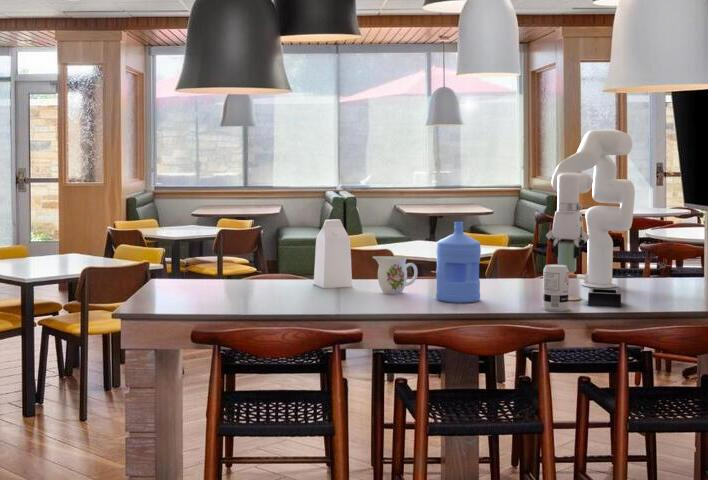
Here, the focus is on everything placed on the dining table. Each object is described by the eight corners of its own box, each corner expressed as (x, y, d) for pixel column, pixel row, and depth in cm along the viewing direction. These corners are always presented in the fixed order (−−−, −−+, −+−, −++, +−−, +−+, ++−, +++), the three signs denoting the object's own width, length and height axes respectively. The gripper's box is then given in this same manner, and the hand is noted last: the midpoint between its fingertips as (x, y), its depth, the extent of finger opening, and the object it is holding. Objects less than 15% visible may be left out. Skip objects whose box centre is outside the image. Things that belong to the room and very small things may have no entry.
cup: (555, 271, 350) (555, 243, 350) (561, 269, 355) (561, 242, 355) (572, 272, 346) (573, 244, 346) (578, 270, 352) (579, 243, 351)
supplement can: (539, 307, 332) (540, 264, 331) (563, 307, 333) (563, 263, 332) (547, 311, 324) (548, 267, 323) (571, 311, 325) (572, 267, 324)
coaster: (548, 299, 350) (548, 298, 350) (557, 295, 359) (557, 294, 359) (575, 301, 345) (575, 300, 345) (584, 298, 353) (584, 297, 353)
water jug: (427, 298, 353) (428, 221, 351) (464, 295, 359) (465, 219, 357) (451, 304, 339) (451, 224, 337) (488, 301, 345) (489, 223, 343)
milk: (341, 282, 391) (341, 218, 390) (352, 286, 380) (352, 220, 379) (313, 284, 388) (313, 219, 386) (323, 288, 377) (323, 221, 375)
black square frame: (587, 305, 336) (588, 292, 336) (588, 301, 347) (588, 288, 346) (620, 307, 333) (621, 294, 333) (620, 302, 343) (620, 289, 343)
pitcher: (422, 293, 363) (422, 257, 362) (376, 295, 358) (376, 258, 358) (412, 289, 373) (412, 254, 372) (367, 291, 369) (367, 255, 368)
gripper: (595, 208, 348) (594, 258, 349) (548, 206, 358) (547, 254, 359) (588, 209, 342) (587, 260, 343) (541, 207, 352) (540, 256, 352)
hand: (567, 256), depth 351 cm, fingers closed on cup, 6 cm apart
